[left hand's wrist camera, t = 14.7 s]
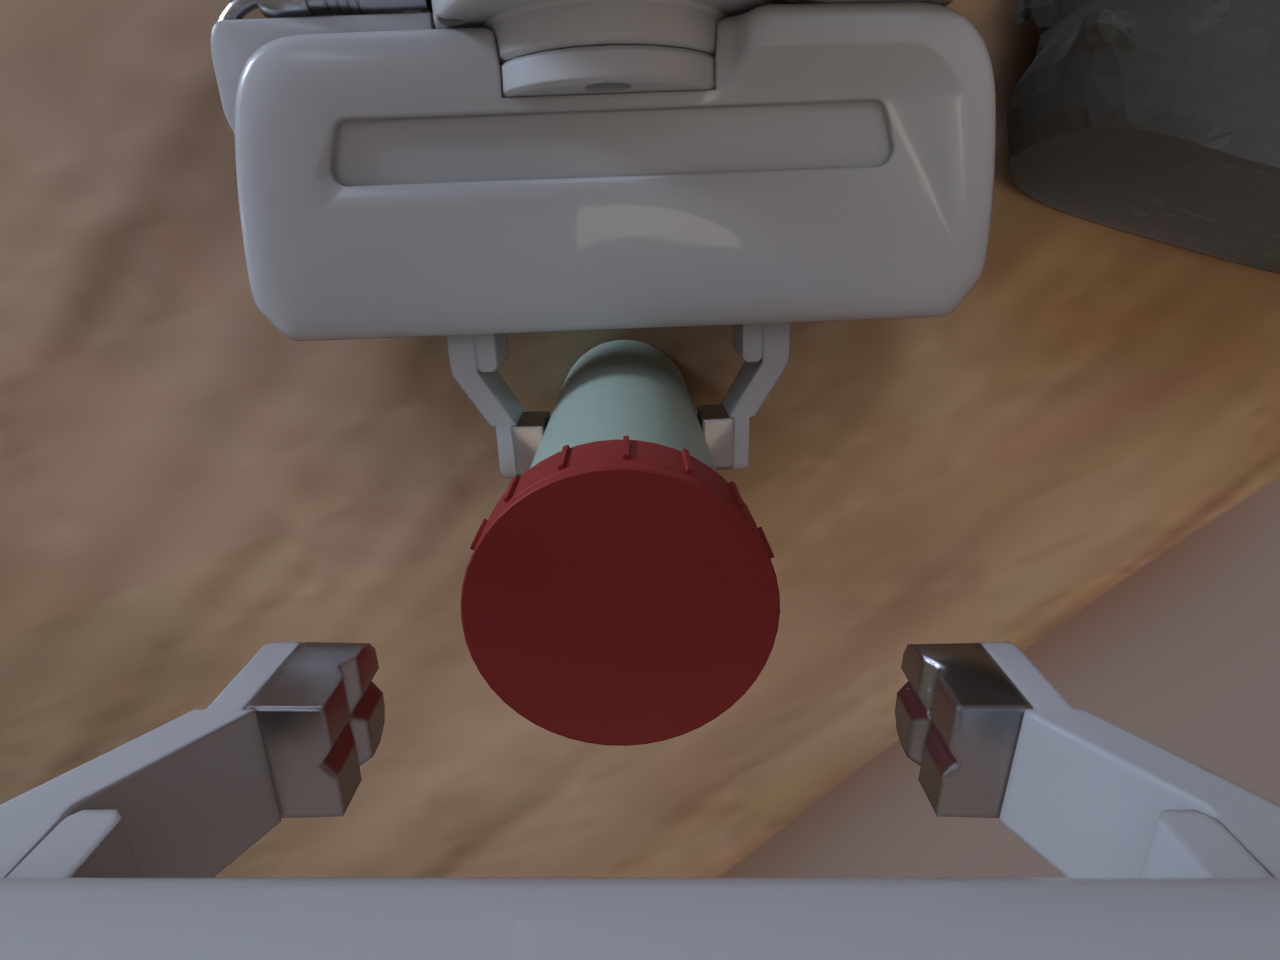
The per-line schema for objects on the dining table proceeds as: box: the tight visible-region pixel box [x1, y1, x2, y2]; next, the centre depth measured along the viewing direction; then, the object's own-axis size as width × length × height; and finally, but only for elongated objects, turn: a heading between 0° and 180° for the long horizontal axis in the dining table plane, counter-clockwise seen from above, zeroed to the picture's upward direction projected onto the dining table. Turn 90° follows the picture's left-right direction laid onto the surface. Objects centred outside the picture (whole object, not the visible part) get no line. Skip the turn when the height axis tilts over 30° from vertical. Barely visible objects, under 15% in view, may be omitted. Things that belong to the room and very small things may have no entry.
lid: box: [461, 436, 780, 746], centre depth 13 cm, size 6×6×2 cm
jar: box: [530, 340, 717, 472], centre depth 20 cm, size 5×5×15 cm
